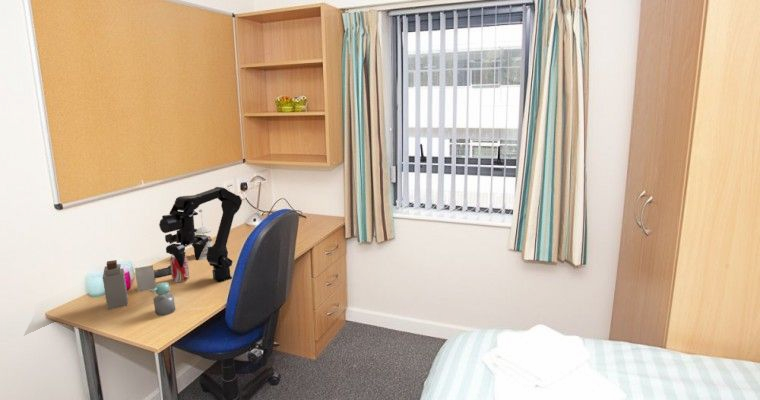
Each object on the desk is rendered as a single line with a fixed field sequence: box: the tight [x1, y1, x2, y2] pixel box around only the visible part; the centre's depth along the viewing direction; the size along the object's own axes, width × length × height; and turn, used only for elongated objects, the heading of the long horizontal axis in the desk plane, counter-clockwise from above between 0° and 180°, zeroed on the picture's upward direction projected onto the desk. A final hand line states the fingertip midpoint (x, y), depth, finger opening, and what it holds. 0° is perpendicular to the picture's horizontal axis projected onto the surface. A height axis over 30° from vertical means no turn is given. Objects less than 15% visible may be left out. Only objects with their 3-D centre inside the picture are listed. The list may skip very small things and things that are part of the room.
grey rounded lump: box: [153, 293, 176, 317], centre depth 170 cm, size 7×7×6 cm
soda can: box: [169, 254, 190, 283], centre depth 198 cm, size 7×7×12 cm
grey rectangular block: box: [134, 264, 156, 293], centre depth 190 cm, size 4×7×10 cm, turn 118°
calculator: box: [153, 265, 172, 279], centre depth 208 cm, size 9×12×3 cm
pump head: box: [150, 281, 170, 298], centre depth 167 cm, size 7×5×5 cm, turn 160°
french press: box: [195, 208, 214, 260], centre depth 226 cm, size 10×12×25 cm
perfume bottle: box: [102, 259, 129, 310], centre depth 174 cm, size 7×7×18 cm
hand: (189, 263), depth 183 cm, fingers open, 9 cm apart
